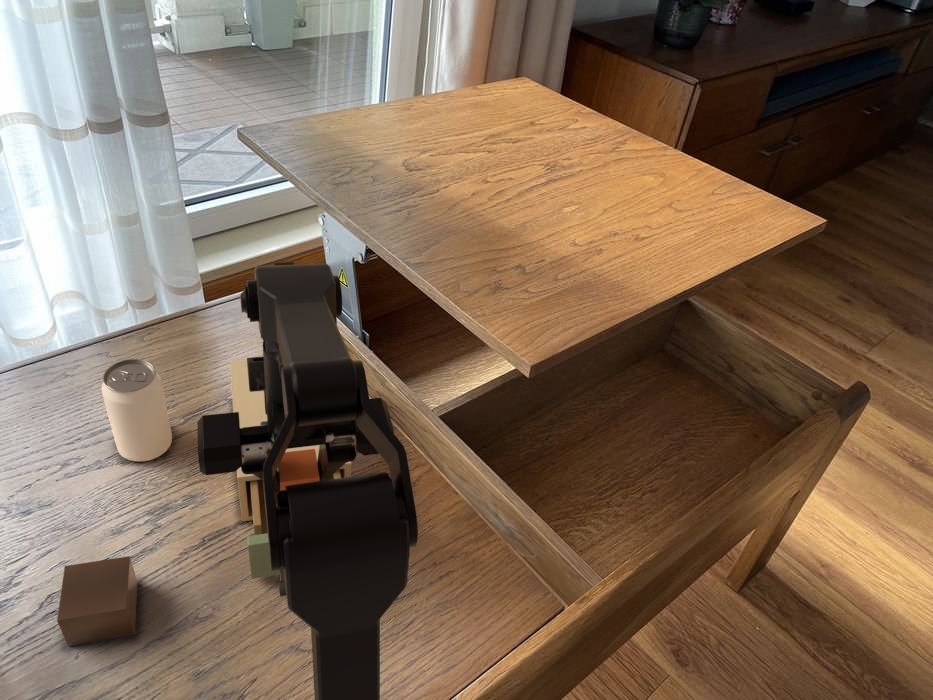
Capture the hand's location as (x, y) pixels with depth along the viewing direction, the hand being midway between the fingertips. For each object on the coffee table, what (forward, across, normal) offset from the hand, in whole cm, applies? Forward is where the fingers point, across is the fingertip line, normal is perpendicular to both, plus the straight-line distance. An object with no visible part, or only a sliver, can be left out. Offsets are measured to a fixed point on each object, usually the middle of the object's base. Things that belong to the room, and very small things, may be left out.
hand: (298, 486), depth 77 cm
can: (+10, +17, -18) cm, 27 cm away
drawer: (+9, 0, -2) cm, 9 cm away
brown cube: (+10, +20, +5) cm, 23 cm away
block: (0, 0, 0) cm, 0 cm away
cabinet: (+10, 0, -13) cm, 16 cm away
